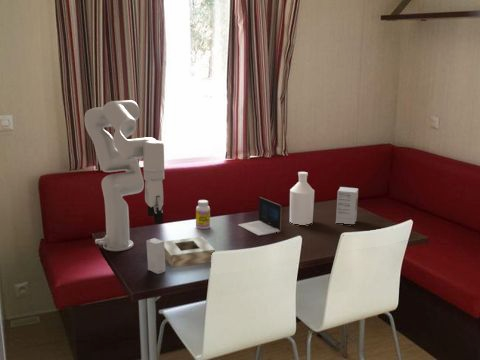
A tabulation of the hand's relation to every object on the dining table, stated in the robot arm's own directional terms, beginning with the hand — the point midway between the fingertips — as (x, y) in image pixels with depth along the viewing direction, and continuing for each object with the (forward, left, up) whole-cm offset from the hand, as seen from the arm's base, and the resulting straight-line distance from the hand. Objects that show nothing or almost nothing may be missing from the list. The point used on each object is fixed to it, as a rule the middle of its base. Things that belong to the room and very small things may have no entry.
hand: (155, 219), depth 199 cm
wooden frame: (+15, +9, -20) cm, 27 cm away
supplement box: (+102, +26, -21) cm, 107 cm away
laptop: (+57, +32, -21) cm, 69 cm away
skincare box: (0, 0, -21) cm, 21 cm away
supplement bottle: (+33, +43, -21) cm, 58 cm away
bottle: (+81, +34, -21) cm, 90 cm away
